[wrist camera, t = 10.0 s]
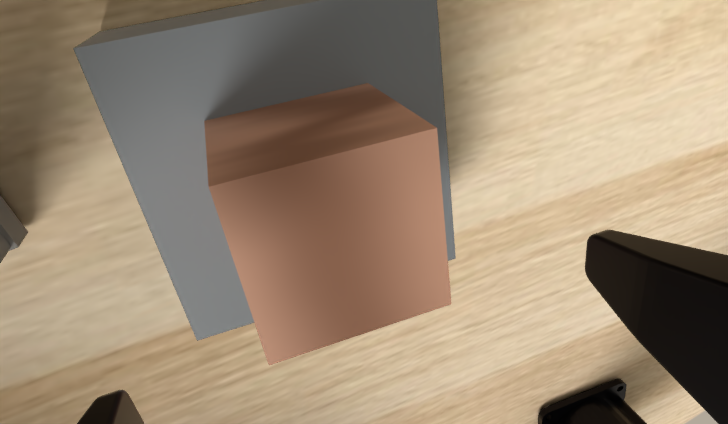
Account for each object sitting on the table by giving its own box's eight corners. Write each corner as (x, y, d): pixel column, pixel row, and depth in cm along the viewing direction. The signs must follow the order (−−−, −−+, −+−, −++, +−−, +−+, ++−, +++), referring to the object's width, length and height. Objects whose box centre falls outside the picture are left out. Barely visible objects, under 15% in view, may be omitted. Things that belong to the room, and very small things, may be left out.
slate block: (388, -24, 18) (435, -22, 14) (415, 214, 23) (455, 258, 19) (99, 31, 16) (73, 48, 12) (196, 278, 21) (197, 340, 17)
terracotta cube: (367, 83, 15) (436, 127, 11) (388, 221, 17) (451, 303, 13) (204, 120, 14) (208, 187, 10) (249, 262, 16) (269, 365, 12)
